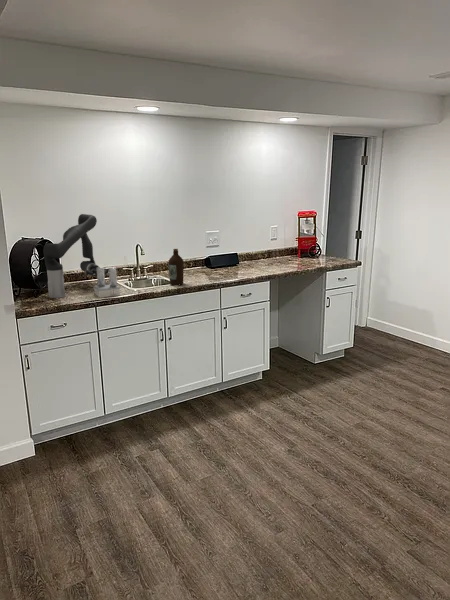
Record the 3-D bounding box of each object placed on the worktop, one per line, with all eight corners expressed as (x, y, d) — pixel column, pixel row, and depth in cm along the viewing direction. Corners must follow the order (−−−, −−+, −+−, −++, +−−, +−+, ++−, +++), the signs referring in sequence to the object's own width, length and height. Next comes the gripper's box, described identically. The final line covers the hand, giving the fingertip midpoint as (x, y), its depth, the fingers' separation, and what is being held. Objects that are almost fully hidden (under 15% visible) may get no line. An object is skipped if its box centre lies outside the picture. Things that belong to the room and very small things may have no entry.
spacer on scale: (110, 287, 286) (109, 269, 283) (108, 286, 290) (107, 268, 287) (118, 287, 288) (116, 268, 285) (116, 285, 292) (114, 267, 289)
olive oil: (176, 282, 327) (175, 247, 321) (187, 284, 321) (186, 248, 314) (165, 284, 318) (164, 249, 312) (177, 286, 312) (176, 250, 306)
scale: (99, 297, 282) (99, 289, 281) (94, 293, 293) (94, 285, 292) (120, 295, 288) (119, 287, 287) (114, 291, 299) (114, 283, 298)
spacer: (98, 287, 288) (97, 268, 285) (97, 285, 292) (95, 267, 289) (106, 286, 290) (104, 267, 287) (104, 285, 294) (103, 266, 291)
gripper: (82, 264, 303) (87, 268, 289) (103, 263, 309) (109, 266, 295) (83, 275, 304) (88, 280, 291) (104, 274, 311) (110, 278, 297)
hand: (99, 273), depth 293 cm, fingers open, 8 cm apart
